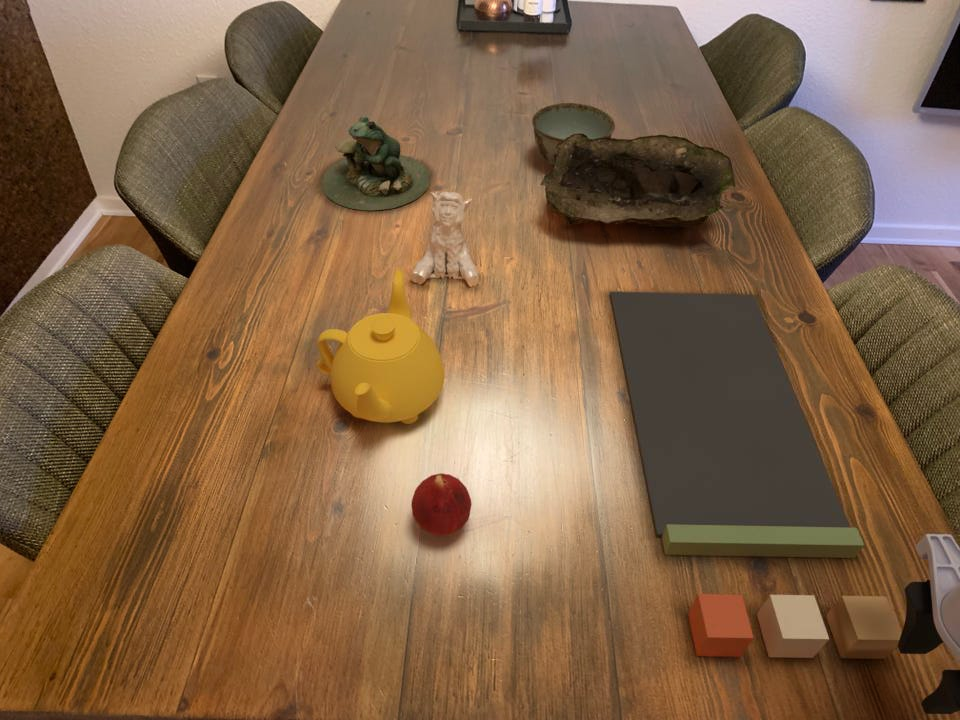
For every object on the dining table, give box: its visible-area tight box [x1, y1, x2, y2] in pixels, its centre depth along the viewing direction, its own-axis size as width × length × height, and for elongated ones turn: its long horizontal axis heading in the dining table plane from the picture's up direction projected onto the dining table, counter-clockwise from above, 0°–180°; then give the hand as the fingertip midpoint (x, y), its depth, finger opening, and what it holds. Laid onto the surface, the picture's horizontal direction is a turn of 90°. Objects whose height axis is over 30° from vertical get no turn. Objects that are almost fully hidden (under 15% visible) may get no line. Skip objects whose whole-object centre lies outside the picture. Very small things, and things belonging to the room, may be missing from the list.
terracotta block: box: [687, 593, 755, 658], centre depth 63 cm, size 4×4×4 cm
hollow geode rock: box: [539, 133, 736, 229], centre depth 108 cm, size 28×13×15 cm
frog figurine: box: [320, 115, 431, 211], centre depth 114 cm, size 18×18×12 cm
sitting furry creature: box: [410, 191, 480, 288], centre depth 98 cm, size 10×9×12 cm
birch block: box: [825, 595, 902, 660], centre depth 64 cm, size 4×4×4 cm
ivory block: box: [756, 594, 830, 659], centre depth 63 cm, size 4×4×4 cm
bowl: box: [531, 102, 616, 168], centre depth 120 cm, size 14×13×8 cm
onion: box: [410, 472, 472, 537], centre depth 69 cm, size 6×6×8 cm
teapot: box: [316, 268, 445, 425], centre depth 80 cm, size 20×15×12 cm
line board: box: [609, 291, 865, 559], centre depth 84 cm, size 40×20×2 cm, turn 0°
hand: (923, 678), depth 55 cm, fingers open, 4 cm apart
